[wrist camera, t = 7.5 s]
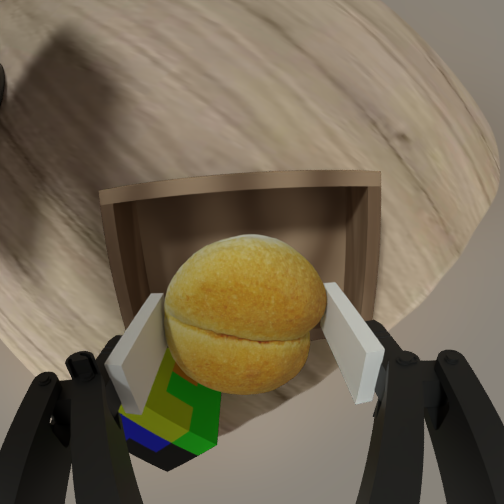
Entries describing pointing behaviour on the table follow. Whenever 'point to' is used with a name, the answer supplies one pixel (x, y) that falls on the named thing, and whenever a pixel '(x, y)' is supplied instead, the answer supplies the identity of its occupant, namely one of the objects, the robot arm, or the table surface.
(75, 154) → the table surface
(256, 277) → the bread roll
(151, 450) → the puzzle toy
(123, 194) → the wooden box
